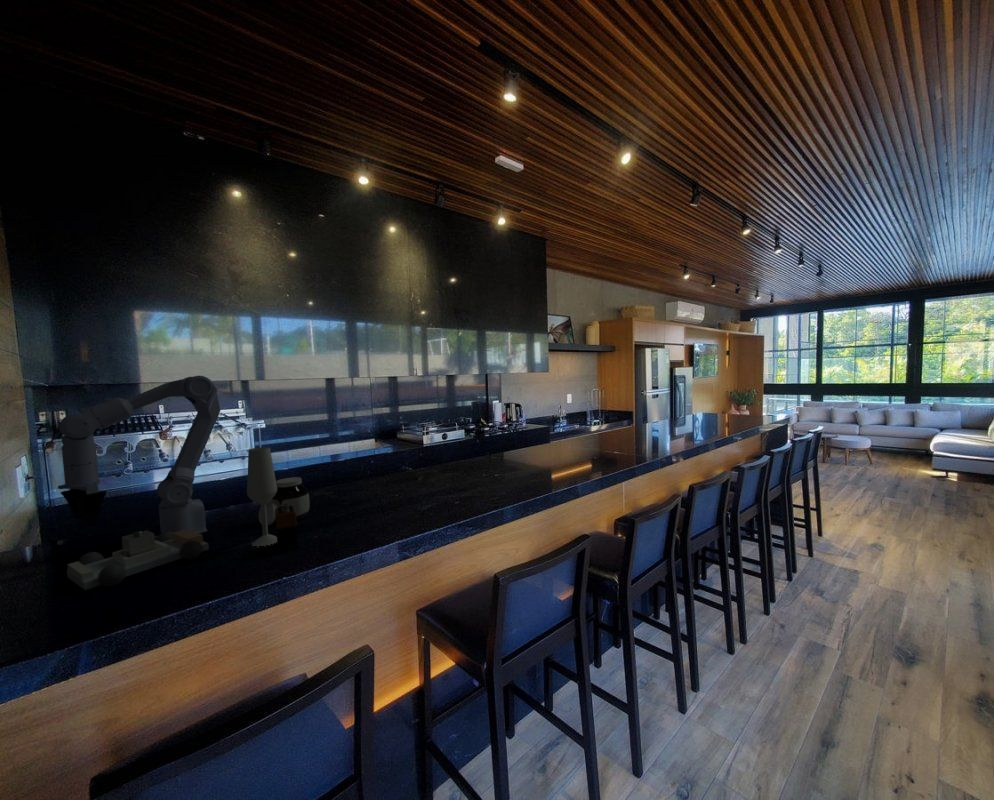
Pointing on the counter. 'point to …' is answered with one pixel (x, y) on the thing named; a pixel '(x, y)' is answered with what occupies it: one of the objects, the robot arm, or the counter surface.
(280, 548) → the battery
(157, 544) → the car chassis
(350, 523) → the counter surface
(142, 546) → the engine block
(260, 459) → the champagne flute
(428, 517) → the counter surface
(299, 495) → the spread jar
